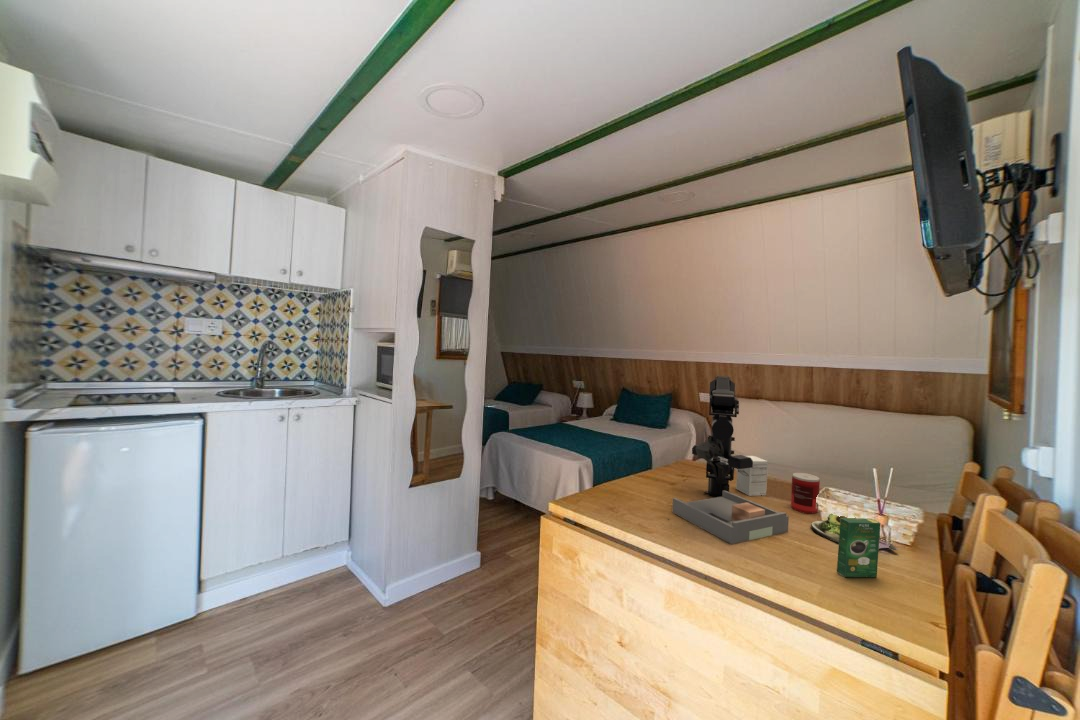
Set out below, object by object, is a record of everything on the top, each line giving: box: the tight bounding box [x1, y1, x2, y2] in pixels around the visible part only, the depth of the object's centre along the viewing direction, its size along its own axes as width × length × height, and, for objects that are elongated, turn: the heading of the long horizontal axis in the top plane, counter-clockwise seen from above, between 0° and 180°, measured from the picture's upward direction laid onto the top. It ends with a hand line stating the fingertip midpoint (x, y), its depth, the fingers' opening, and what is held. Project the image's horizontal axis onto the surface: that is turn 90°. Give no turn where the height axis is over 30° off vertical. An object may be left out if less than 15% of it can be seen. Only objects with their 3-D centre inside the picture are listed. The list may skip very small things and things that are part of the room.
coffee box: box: [836, 517, 881, 578], centre depth 99 cm, size 8×3×13 cm, turn 93°
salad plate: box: [810, 513, 899, 551], centre depth 119 cm, size 19×18×5 cm
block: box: [731, 503, 765, 521], centre depth 121 cm, size 6×6×4 cm
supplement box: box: [735, 455, 769, 497], centre depth 155 cm, size 7×7×13 cm
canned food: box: [790, 472, 821, 514], centre depth 139 cm, size 8×8×11 cm
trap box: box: [671, 490, 790, 545], centre depth 128 cm, size 23×22×6 cm
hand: (719, 483), depth 131 cm, fingers closed
